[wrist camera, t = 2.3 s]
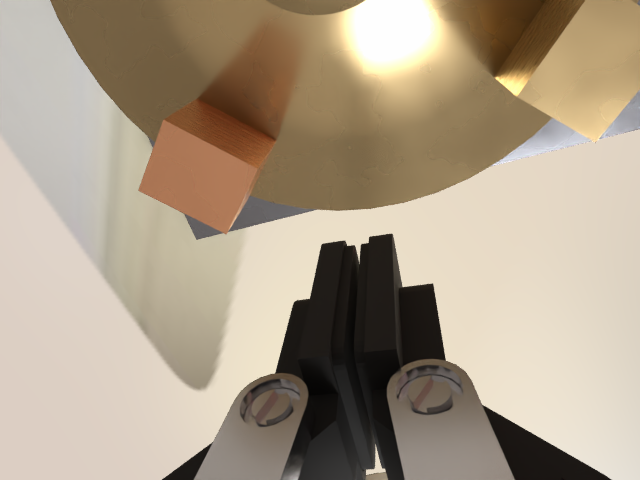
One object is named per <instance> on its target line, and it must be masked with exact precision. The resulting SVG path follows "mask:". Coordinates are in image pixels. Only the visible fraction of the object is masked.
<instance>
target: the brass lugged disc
mask: <svg viewBox="0 0 640 480" xmlns="http://www.w3.org/2000/svg"><path fill="white" fill-rule="evenodd" d="M50 1H51V3H52V5H53V8H54V10H55V12H56V15H57V17H58V19H59V21H60V23H61V24H62V26H63V28H64V30H65V31H66V33H67V35H68V37H69V38H70V40H71V42H72V44H73V46H74V47H75V49H76V51H77V53H78V54H79V56H80V57H81V59H82V60H83V62H84V63H85V65H86V66H87V67H88V69H89V70H90V72H91V73H92V74H93V76H94V77H95V79H96V80H97V82H98V83H99V84H100V86H101V87H102V88H103V90H104V91H105V92H106V93H107V94H108V95H109V97H110V98H111V99H112V100H113V101H114V102H115V103H116V105H117V106H118V107H119V108H120V109H121V110H122V111H123V113H124V114H125V115H126V116H127V117H128V118H129V119H130V120H131V121H132V122H133V123H134V124H135V125H137V126H138V127H139V128H140V129H141V130H142V131H143V132H144V133H145V134H146V135H147V136H148V137H149V138H151V139H152V140H153V141H154V142H155V145H154V148H153V150H152V153H151V156H150V159H149V162H148V165H147V167H146V170H145V173H144V176H143V179H142V182H141V184H140V187H139V190H138V191H140V192H142V193H144V194H146V195H148V196H150V197H152V198H154V199H156V200H158V201H160V202H162V203H164V204H166V205H168V206H170V207H172V208H174V209H176V210H178V211H180V212H182V213H184V214H186V215H188V216H190V217H192V218H195V219H197V220H199V221H201V222H203V223H205V224H207V225H209V226H211V227H213V228H215V229H217V230H219V231H221V232H223V233H225V234H227V233H228V231H229V229H230V228H231V226H232V225H233V223H234V221H235V220H236V218H237V216H238V215H239V213H240V212H241V210H242V208H243V207H244V205H245V203H246V202H247V200H248V198H249V196H253V197H256V198H259V199H262V200H266V201H269V202H272V203H277V204H282V205H288V206H293V207H299V208H304V209H320V210H336V211H340V210H356V209H371V208H377V207H383V206H388V205H394V204H399V203H404V202H408V201H411V200H414V199H417V198H421V197H424V196H427V195H430V194H434V193H436V192H439V191H441V190H444V189H446V188H448V187H450V186H453V185H455V184H457V183H459V182H462V181H464V180H466V179H468V178H471V177H472V176H474V175H476V174H478V173H479V172H481V171H483V170H484V169H486V168H488V167H489V166H491V165H493V164H495V163H496V162H498V161H500V160H501V159H503V158H504V157H506V156H507V155H508V154H510V153H511V152H512V151H514V150H515V149H516V148H518V147H519V146H520V145H522V144H523V143H524V142H526V141H527V140H528V139H530V138H531V137H532V136H534V135H535V134H536V133H537V132H538V131H539V130H540V129H541V128H542V127H543V126H544V125H546V124H547V123H548V122H549V121H550V120H551V119H552V118H554V119H556V120H557V121H559V122H561V123H563V124H564V125H566V126H568V127H569V128H571V129H573V130H575V131H576V132H578V133H580V134H581V135H583V136H585V137H587V138H588V139H590V140H592V141H593V142H596V141H597V140H598V139H599V138H600V137H601V135H602V134H603V133H604V132H605V131H606V129H607V128H608V127H609V126H610V125H611V123H612V122H613V121H614V120H615V119H616V117H617V116H618V115H619V114H620V113H621V111H622V110H623V109H624V108H625V107H626V105H627V104H628V103H629V102H630V100H631V99H632V98H633V97H634V96H635V94H636V93H637V92H638V91H639V90H640V6H639V5H638V4H637V3H638V1H639V0H50Z"/></svg>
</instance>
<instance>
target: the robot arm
mask: <svg viewBox="0 0 640 480" xmlns="http://www.w3.org/2000/svg"><path fill="white" fill-rule="evenodd" d="M375 443H376V447H377V451H378V455H379V459H380V463H381V466H382V468H385V470H386V472H384V473H374V474H370V475H366V469H374V468H375ZM162 480H611V479H609V478H608V477H607V476H605V475H604V474H602V473H600V472H598V471H597V470H595V469H593V468H591V467H590V466H588V465H586V464H585V463H583V462H581V461H579V460H578V459H576V458H574V457H572V456H571V455H569V454H567V453H565V452H563V451H562V450H560V449H558V448H557V447H555V446H553V445H551V444H550V443H548V442H546V441H544V440H543V439H541V438H539V437H537V436H536V435H534V434H532V433H531V432H529V431H527V430H525V429H523V428H522V427H520V426H518V425H517V424H515V423H513V422H511V421H510V420H508V419H506V418H504V417H503V416H501V415H499V414H497V413H496V412H493V411H492V410H490V409H489V408H487V407H485V406H483V405H482V404H481V401H480V399H479V397H478V395H477V392H476V390H475V388H474V385H473V383H472V381H471V379H470V378H469V376H468V375H467V373H466V372H465V371H464V370H462V369H461V368H460V367H459V366H457V365H456V364H453V363H450V362H448V361H446V359H445V354H444V347H443V341H442V335H441V329H440V323H439V317H438V311H437V305H436V298H435V293H434V286H433V284H426V285H417V286H409V287H402V282H401V277H400V271H399V265H398V260H397V254H396V249H395V243H394V238H393V234H386V235H379V236H372V237H369V243H366V244H362V245H361V251H360V265H359V260H358V256H357V252H356V248H355V246H354V245H353V246H347V244H346V242H345V241H338V242H332V243H325V244H322V245H321V250H320V254H319V259H318V264H317V268H316V273H315V278H314V282H313V287H312V292H311V296H310V299H306V300H297V301H295V302H294V304H293V308H292V311H291V315H290V319H289V323H288V326H287V331H286V334H285V338H284V342H283V346H282V350H281V353H280V357H279V361H278V365H277V369H276V373H275V374H270V375H267V376H264V377H261V378H259V379H257V380H255V381H253V382H252V383H250V384H249V385H247V386H246V387H245V388H244V389H243V390H242V391H241V392H240V393H239V395H238V396H237V397H236V399H235V400H234V402H233V404H232V406H231V408H230V410H229V412H228V414H227V416H226V418H225V420H224V422H223V424H222V426H221V428H220V430H219V432H218V434H217V435H216V437H215V439H214V441H213V442H212V443H211V444H210V445H209V446H207V447H206V448H204V449H203V450H202V451H200V452H199V453H198V454H196V455H195V456H194V457H192V458H191V459H189V460H188V461H187V462H185V463H184V464H183V465H181V466H180V467H179V468H177V469H176V470H174V471H173V472H172V473H171V474H169V475H168V476H166V477H165V478H164V479H162Z"/></svg>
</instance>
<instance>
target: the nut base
mask: <svg viewBox="0 0 640 480" xmlns="http://www.w3.org/2000/svg"><path fill="white" fill-rule="evenodd" d="M637 4H638V5H639V6H640V0H639V1H638V3H637ZM638 129H640V90H639V91H638V92H637V93H636V94H635V96H634V97H633V98H632V99H631V100H630V102H629V103H628V104H627V105H626V107H625V108H624V109H623V110H622V111H621V113H620V114H619V115H618V116H617V117H616V119H615V120H614V121H613V122H612V123H611V125H610V126H609V127H608V128H607V129H606V131H605V132H604V133H603V134H602V135H601V137H600V138H599V139H602V138H606V137H610V136H614V135H618V134H622V133H626V132H630V131H634V130H638ZM148 138H149V137H148ZM149 140H150V142H151V144H152V147H153V148H154V145H155V142H154V141H153V140H152V139H151V138H149ZM590 141H592V140H590V139H588V138H587V137H585V136H583V135H581V134H580V133H578V132H576V131H575V130H573V129H571V128H569V127H568V126H566V125H564V124H563V123H561V122H559V121H557V120H556V119H554V118H552V119H551V120H550V121H549V122H548V123H547V124H546V125H544V126H543V127H542V128H541V129H540V130H539V131H538V132H537V133H536V134H535V135H534V136H532V137H531V138H530V139H528V140H527V141H526V142H524V143H523V144H522V145H520V146H519V147H518V148H516V149H515V150H514V151H512V152H511V153H510V154H508V155H507V156H506V157H504V158H503V159H501V160H500V161H498V162H496V163H495V164H493V165H491V166H494V165H498V164H502V163H506V162H509V161H514V160H518V159H522V158H526V157H530V156H534V155H538V154H542V153H546V152H550V151H553V150H558V149H562V148H566V147H570V146H574V145H578V144H582V143H586V142H590ZM489 167H490V166H489ZM313 210H317V209H304V208H299V207H293V206H288V205H282V204H277V203H272V202H269V201H266V200H262V199H259V198H256V197H253V196H249V198H248V200H247V202H246V203H245V205H244V207H243V208H242V210H241V212H240V213H239V215H238V216H237V218H236V220H235V221H234V223H233V225H232V226H231V228H230V229H229V231H228V232H230V231H234V230H238V229H242V228H246V227H250V226H253V225H258V224H261V223H265V222H270V221H274V220H277V219H281V218H285V217H290V216H294V215H298V214H302V213H305V212H309V211H313ZM185 216H186V218H187V221H188V223H189V225H190V227H191V229H192V231H193V233H194V235H195V237H196V240H197V239H201V238H205V237H209V236H213V235H217V234H221V233H223V232H221V231H219V230H217V229H215V228H213V227H211V226H209V225H207V224H205V223H203V222H201V221H199V220H197V219H195V218H192V217H190V216H188V215H186V214H185Z"/></svg>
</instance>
